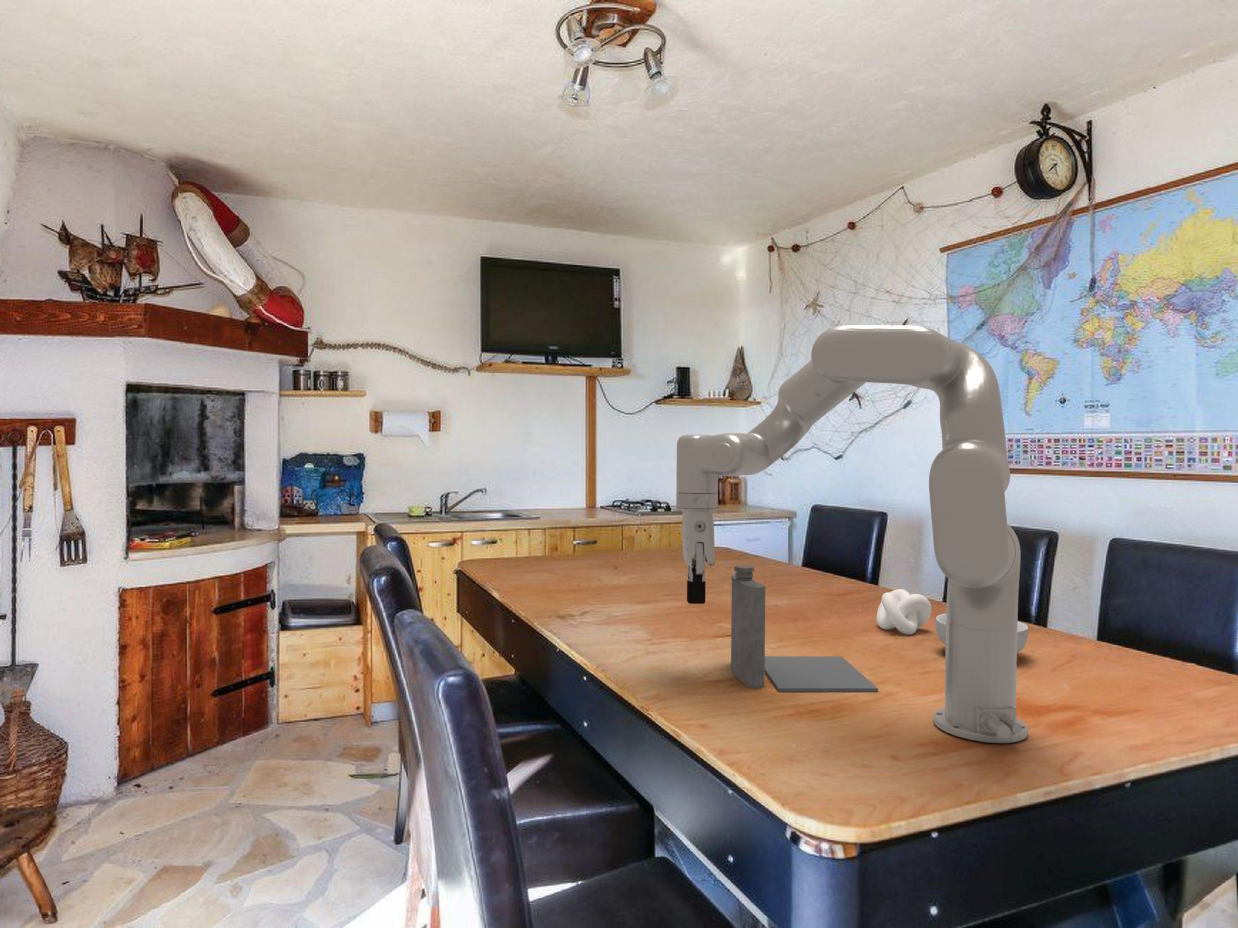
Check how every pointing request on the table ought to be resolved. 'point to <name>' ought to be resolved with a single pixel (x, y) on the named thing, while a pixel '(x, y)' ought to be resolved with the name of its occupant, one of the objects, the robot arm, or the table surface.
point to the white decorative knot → (903, 611)
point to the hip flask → (748, 627)
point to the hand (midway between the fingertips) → (696, 602)
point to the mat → (815, 674)
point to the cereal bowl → (1021, 631)
